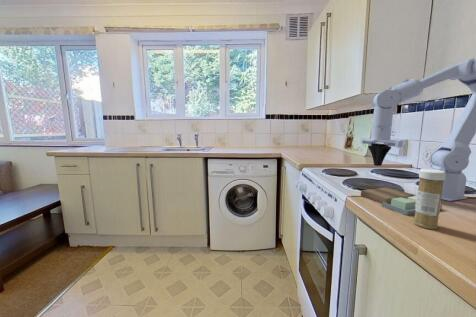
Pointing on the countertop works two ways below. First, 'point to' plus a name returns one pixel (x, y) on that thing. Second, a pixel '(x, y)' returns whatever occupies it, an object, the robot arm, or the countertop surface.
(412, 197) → the cream tile
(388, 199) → the walnut board
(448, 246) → the countertop surface
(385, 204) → the tray
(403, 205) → the green tile
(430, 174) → the sprinkles bottle
